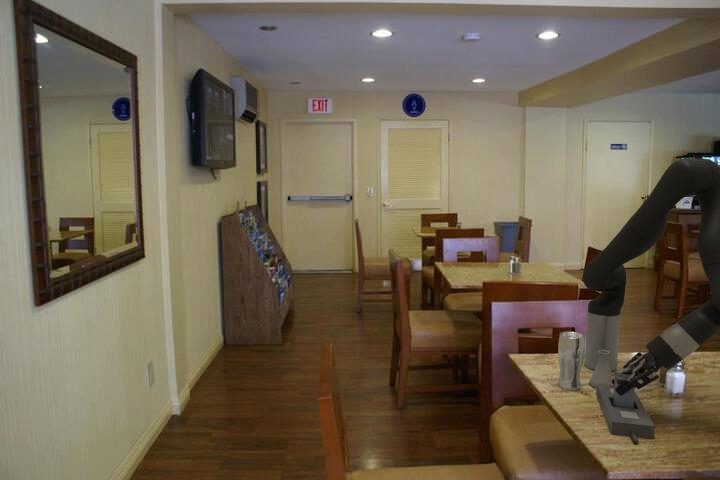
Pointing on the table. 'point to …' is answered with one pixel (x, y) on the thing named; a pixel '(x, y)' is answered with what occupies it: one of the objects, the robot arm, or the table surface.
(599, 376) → the flask
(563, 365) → the beer glass
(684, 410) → the table surface
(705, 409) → the table surface
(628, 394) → the plug
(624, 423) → the power strip
